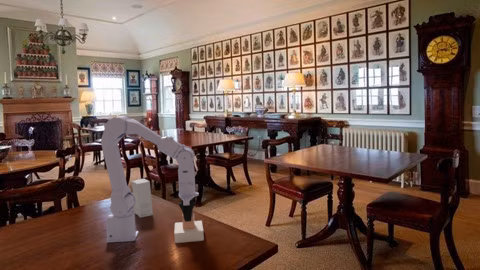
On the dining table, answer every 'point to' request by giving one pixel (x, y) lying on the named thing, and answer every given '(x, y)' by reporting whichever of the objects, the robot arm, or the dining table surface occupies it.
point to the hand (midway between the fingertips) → (188, 218)
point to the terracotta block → (188, 222)
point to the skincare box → (142, 197)
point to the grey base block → (188, 233)
